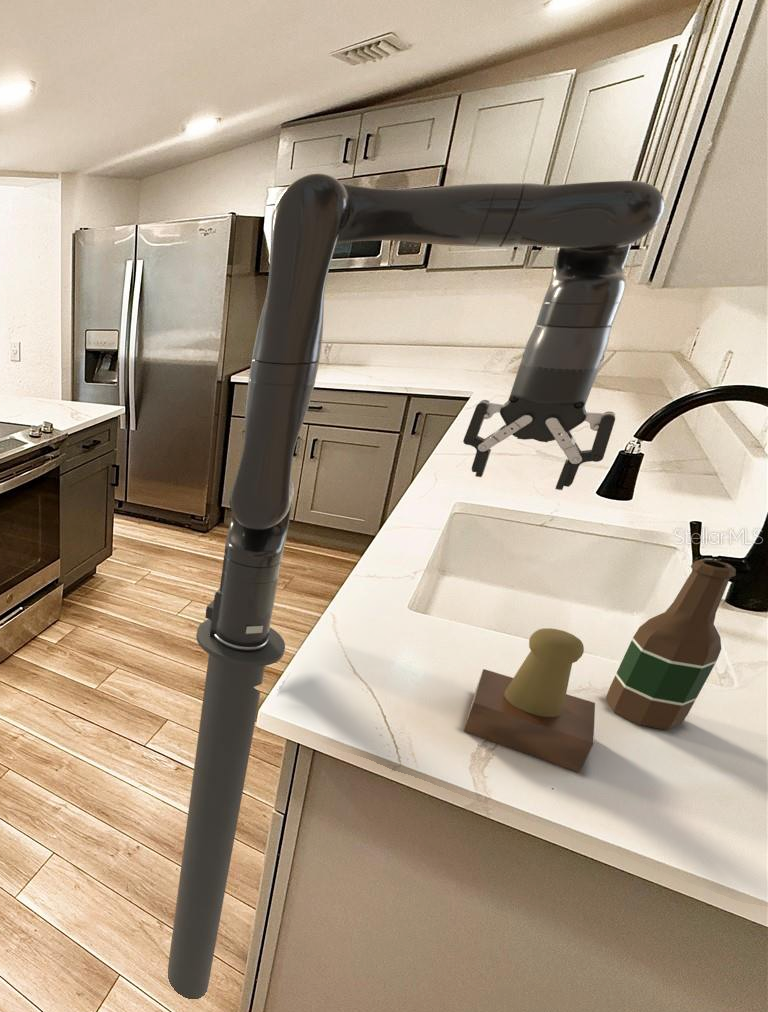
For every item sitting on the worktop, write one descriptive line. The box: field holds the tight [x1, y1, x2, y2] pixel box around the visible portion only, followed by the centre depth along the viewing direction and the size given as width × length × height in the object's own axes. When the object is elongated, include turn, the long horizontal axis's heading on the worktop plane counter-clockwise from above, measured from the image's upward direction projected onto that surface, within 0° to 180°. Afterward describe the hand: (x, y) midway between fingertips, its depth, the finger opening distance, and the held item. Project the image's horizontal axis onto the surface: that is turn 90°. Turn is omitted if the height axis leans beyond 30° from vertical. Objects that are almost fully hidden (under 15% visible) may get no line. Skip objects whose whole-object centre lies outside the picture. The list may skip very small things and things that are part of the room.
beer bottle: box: [605, 558, 737, 731], centre depth 83 cm, size 8×8×24 cm
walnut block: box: [463, 668, 596, 774], centre depth 85 cm, size 12×10×5 cm
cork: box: [504, 627, 585, 717], centre depth 81 cm, size 6×6×11 cm
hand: (517, 481), depth 84 cm, fingers open, 8 cm apart
